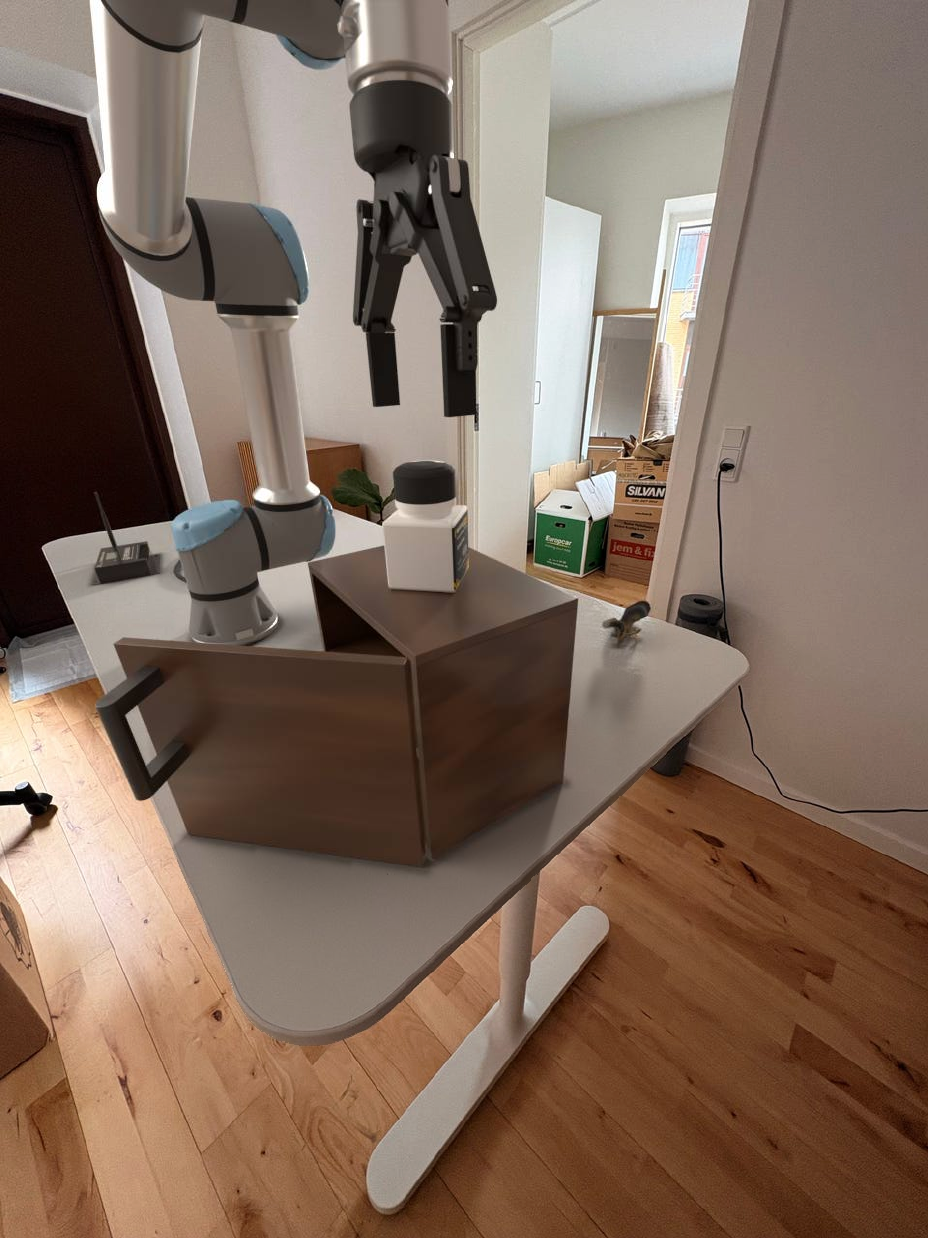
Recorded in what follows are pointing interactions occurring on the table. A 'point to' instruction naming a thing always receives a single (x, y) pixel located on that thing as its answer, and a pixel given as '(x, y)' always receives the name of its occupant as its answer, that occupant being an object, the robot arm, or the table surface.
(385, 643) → the cupboard
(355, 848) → the cupboard door
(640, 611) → the grey-brown animal figure
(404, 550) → the medicine bottle
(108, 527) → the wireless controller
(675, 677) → the table surface
